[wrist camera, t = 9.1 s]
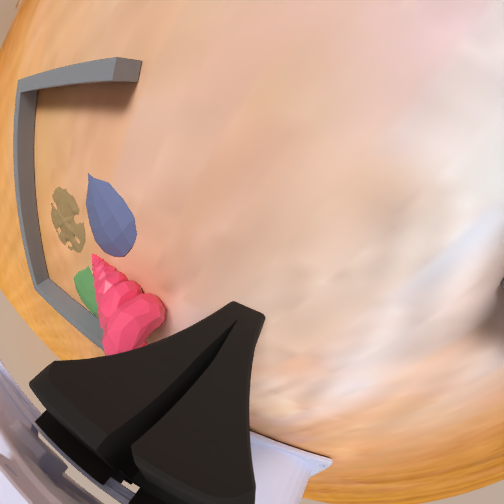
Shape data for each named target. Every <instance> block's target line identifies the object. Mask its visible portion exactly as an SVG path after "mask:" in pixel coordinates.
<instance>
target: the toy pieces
mask: <svg viewBox="0 0 504 504" xmlns="http://www.w3.org/2000/svg"><path fill="white" fill-rule="evenodd" d="M88 181H89V184H88V191H87V199H86V207H87V212H88V217H89V223H90V226H91V230H92V233H93V236H94V239H95V241H96V243H97V244H98V245H99V246H100V247H101V249H102V250H103V251H104V252H105V253H107V254H109V255H112V256H114V257H116V256H125V255H126V253H127V252H128V251H129V250H130V249H131V248H132V246H133V244H134V242H135V240H136V236H137V231H136V225H135V219H134V216H133V214H132V212H131V211H130V209H129V208H128V206H127V204H126V203H125V201H124V200H123V198H122V197H121V196H120V195H119V194H118V193H117V192H116V191H115V190H114V188H113V187H112V186H111V185H110V184H109V183H108V182H105V181H102V180H99V179H96V178H93V177H92V176H91V175H90V174H89V173H88ZM53 200H54V202H55V203H56V205H57V210H56V209H55V208H54V206H53V203H51V205H52V212H51V215H52V221H53V224H54V227H55V229H56V231H57V228H58V227H60V229H61V233H60V235H59V233H58V231H57V233H58V235H59V236H58V237H59V238H60V240H61V242H62V243H63V244H64V245H66V243H67V241H70V242H71V243H72V247H70V246H69V245H68V248H69V249H70V250H72V249H74V250H75V251H76V252H81V251H82V249H83V246H84V244H85V229H84V223H79V224H75V222H74V215H76V214H78V215H79V208H78V206H77V203H76V201H75V199H74V197H73V196H72V195H70V194H69V193H68V192H67V190H66V189H62V188H60V187H58V188H56V189H55V191H54V194H53ZM75 235H76V237H77V238H78V239H79V240H80V241H81V242H80V244H78V242H77V241H76V239H75ZM92 265H93V268H92V270H93V271H94V272H93V275H92V273H91V271H90V268H89V266H88V267H87V268H86V269H85V270H82V271H79V272H78V273H77V274H76V276H75V277H74V281H75V286H76V290H77V292H78V294H79V296H80V298H81V300H82V301H83V303H84V304H85V305H86V306H87V308H88V309H89V310H90V311H91V312H92V313H93V314H94V315H95V316H97V317H98V318H99V321H100V326H101V328H102V329H103V330H104V331H103V339H102V344H103V348H104V352H105V356H108V355H113V354H118V353H122V352H126V351H130V350H133V349H136V348H140V347H143V346H146V345H147V343H146V341H145V340H146V339H147V337H148V336H149V335H150V334H151V332H152V331H153V330H154V329H156V328H158V327H159V326H160V325H162V323H163V322H164V321H165V312H166V311H165V308H164V306H163V304H162V303H161V301H160V299H159V298H158V297H157V296H155V295H153V294H151V293H147V294H143V292H142V289H141V287H140V285H139V284H137V283H136V282H134V281H132V280H131V281H128V279H127V277H126V276H125V274H123V273H121V272H119V271H116V268H115V267H113V266H110V265H109V264H108V263H107V262H105V261H104V260H103V259H100V257H98V256H97V255H95V254H92Z"/></svg>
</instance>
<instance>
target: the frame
mask: <svg viewBox="0 0 504 504" xmlns="http://www.w3.org/2000/svg"><path fill="white" fill-rule="evenodd" d="M141 63H142V61H140V60H134V59H127V58H119V57H114V58H107V59H101V60H94V61H89V62H84V63H79V64H74V65H69V66H65V67H61V68H57V69H53V70H49V71H46V72H42V73H39V74H35V75H32V76H29V77H26V78H23V79H20V80H18V85H17V92H16V102H15V114H14V135H13V157H14V179H15V191H16V200H17V209H18V216H19V222H20V229H21V234H22V239H23V245H24V249H25V254H26V258H27V262H28V267H29V270H30V274H31V278H32V282H33V285H34V288H35V290H36V291H37V292H38V293H39V294H40V295H41V296H42V297H43V298H44V299H45V300H46V301H47V302H48V303H49V304H50V305H51V306H52V307H53V308H54V309H55V310H56V311H57V312H58V313H59V314H61V315H62V316H63V317H64V318H65V319H66V320H67V321H68V322H69V323H71V324H72V325H73V326H74V327H75V328H76V329H77V330H79V331H80V332H81V333H82V334H83V335H85V336H86V337H87V338H88V339H89V340H91V341H92V342H93V343H94V344H96V345H97V346H98V347H99V348H101V349H102V350H103V351H104V348H103V344H102V339H103V331H104V330H103V329H102V328H101V326H100V321H99V319H98V318H97V317H96V316H94V315H93V314H92V313H90V312H89V311H88V310H87V309H85V308H84V307H83V306H81V305H80V304H79V303H78V302H77V301H75V300H74V299H73V298H72V297H70V296H69V295H68V294H67V293H66V292H64V291H63V290H62V289H61V288H60V287H59V286H57V285H56V284H55V283H54V282H53V281H52V280H51V279H50V278H49V276H48V272H47V267H46V263H45V258H44V253H43V248H42V242H41V236H40V229H39V222H38V214H37V205H36V194H35V179H34V126H35V111H36V101H37V92H38V90H42V89H48V88H55V87H62V86H70V85H80V84H92V83H109V82H138V78H139V73H140V68H141Z"/></svg>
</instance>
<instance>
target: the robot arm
mask: <svg viewBox="0 0 504 504" xmlns="http://www.w3.org/2000/svg"><path fill="white" fill-rule="evenodd" d="M264 321H265V316H264V314H262V313H260V312H257V311H255V310H253V309H250V308H248V307H246V306H244V305H241V304H239V303H237V302H235V301H233V302H230V303H229V304H227V305H226V306H224V307H223V308H221V309H220V310H218V311H216V312H215V313H213V314H212V315H210V316H208V317H207V318H205V319H203V320H201V321H199V322H198V323H196V324H194V325H192V326H190V327H188V328H186V329H184V330H182V331H180V332H178V333H176V334H174V335H172V336H169V337H167V338H165V339H162V340H160V341H157V342H155V343H152V344H149V345H146V346H143V347H140V348H136V349H133V350H130V351H126V352H122V353H118V354H113V355H108V356H102V357H96V358H90V359H80V360H65V361H54V362H52V363H51V364H50V365H48V366H47V367H46V368H45V369H44V370H42V371H41V372H40V373H39V374H38V375H37V376H36V377H35V378H34V379H32V380H31V381H30V383H29V386H30V388H31V389H32V391H33V392H34V394H35V395H36V396H37V398H38V399H39V400H40V402H41V403H42V404H43V406H44V407H45V408H46V409H47V410H46V411H45V412H44V413H43V414H41V413H40V411H39V410H38V409H37V408H36V407H35V406H34V405H33V403H32V402H31V401H30V400H29V399H28V397H27V396H26V395H25V394H24V392H23V391H22V390H21V389H20V387H19V386H18V385H17V383H16V382H15V381H14V379H13V378H12V377H11V375H10V374H9V372H8V371H7V370H6V368H5V367H4V365H3V363H2V362H1V361H0V504H104V503H102V502H101V501H100V500H98V499H97V498H95V497H94V496H93V495H91V494H90V493H89V492H87V491H86V490H85V489H84V488H82V487H81V486H80V485H79V484H77V483H76V482H75V481H74V480H73V479H71V478H70V477H69V476H68V475H67V474H66V473H65V470H66V469H67V468H68V467H67V465H66V464H65V463H64V462H63V460H62V459H61V458H60V457H59V456H58V455H57V454H56V453H55V452H54V451H53V450H51V449H50V448H49V447H48V446H47V445H46V444H45V443H44V442H43V441H42V440H41V439H40V438H39V437H38V431H39V432H40V433H41V434H42V436H43V437H44V438H45V439H46V440H47V441H48V442H49V443H50V444H51V445H52V446H53V447H54V448H55V449H56V450H57V451H58V452H59V453H60V454H61V455H62V456H63V457H64V458H65V459H66V460H67V461H69V463H71V464H72V465H73V466H74V467H75V468H76V469H77V470H78V471H80V472H81V473H82V474H83V475H84V476H86V477H87V478H88V479H89V480H90V481H92V482H93V483H94V484H95V485H97V486H98V487H99V488H100V489H102V490H103V491H105V492H106V493H107V494H109V495H110V496H112V497H113V498H114V499H116V500H117V501H118V502H120V503H121V504H300V501H301V499H302V496H303V494H304V491H305V488H306V485H307V483H308V480H309V478H310V477H312V476H313V475H315V474H317V473H319V472H321V471H322V470H324V469H326V468H327V467H329V466H331V465H332V462H333V460H332V459H330V458H327V457H323V456H320V455H316V454H313V453H309V452H306V451H303V450H300V449H297V448H294V447H291V446H288V445H285V444H282V443H280V442H277V441H274V440H272V439H269V438H266V437H264V436H261V435H259V434H256V433H254V432H252V431H250V425H249V394H250V379H251V369H252V362H253V356H254V350H255V346H256V343H257V340H258V338H259V335H260V332H261V329H262V326H263V323H264ZM123 480H125V481H126V482H128V483H129V484H132V483H134V484H135V485H137V486H139V487H140V488H139V490H138V491H137V493H136V494H135V493H134V492H132V491H130V490H129V489H128V488H126V487H125V486H123V485H122V484H121V483H122V481H123Z"/></svg>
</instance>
